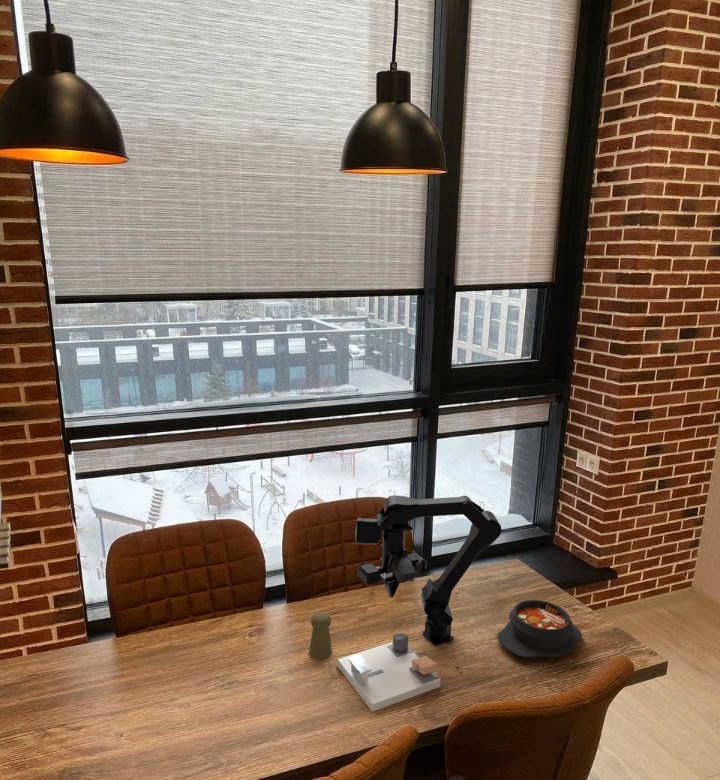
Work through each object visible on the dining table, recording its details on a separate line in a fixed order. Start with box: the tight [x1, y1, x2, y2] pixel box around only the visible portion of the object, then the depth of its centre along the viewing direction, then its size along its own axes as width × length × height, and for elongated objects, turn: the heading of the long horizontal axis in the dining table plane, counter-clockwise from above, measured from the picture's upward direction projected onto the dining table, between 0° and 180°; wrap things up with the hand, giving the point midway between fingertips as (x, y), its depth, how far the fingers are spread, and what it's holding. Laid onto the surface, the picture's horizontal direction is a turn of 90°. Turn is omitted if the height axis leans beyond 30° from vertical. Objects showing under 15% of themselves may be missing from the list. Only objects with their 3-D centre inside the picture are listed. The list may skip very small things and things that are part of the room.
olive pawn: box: [308, 611, 333, 661], centre depth 161 cm, size 6×6×11 cm
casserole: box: [496, 599, 583, 659], centre depth 169 cm, size 25×19×8 cm
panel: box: [337, 641, 442, 713], centre depth 153 cm, size 19×18×3 cm
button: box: [392, 632, 409, 653], centre depth 161 cm, size 4×4×3 cm
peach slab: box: [412, 655, 438, 675], centre depth 151 cm, size 4×5×2 cm
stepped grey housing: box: [349, 655, 372, 684], centre depth 149 cm, size 3×6×4 cm, turn 28°
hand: (391, 596), depth 167 cm, fingers closed
